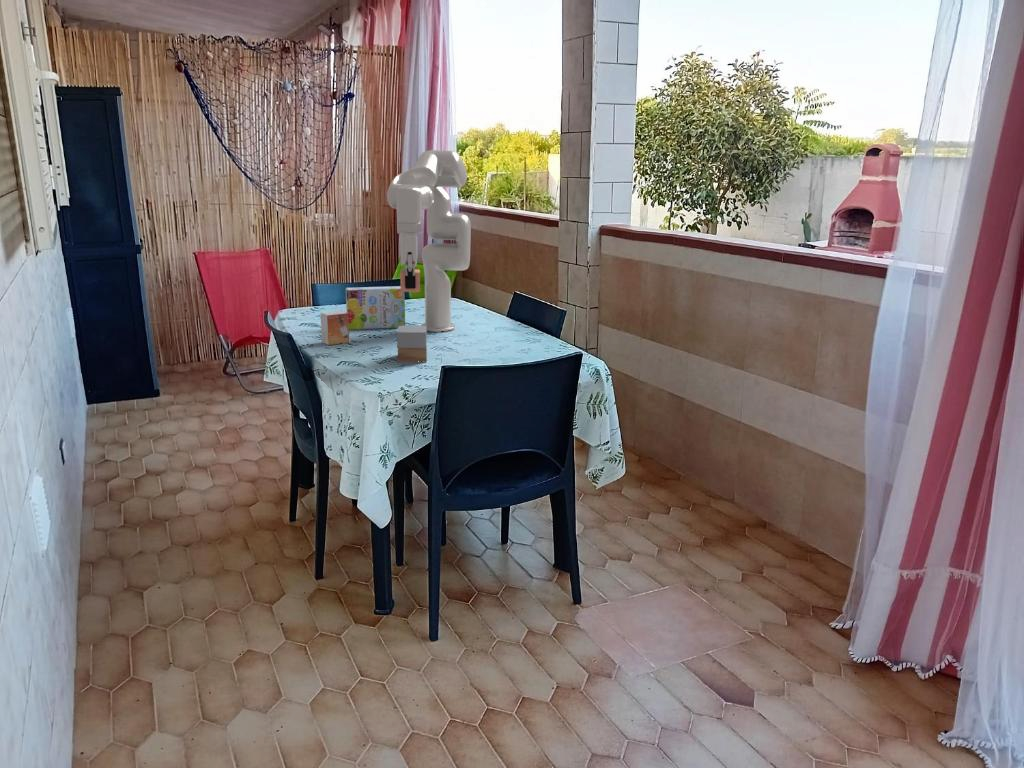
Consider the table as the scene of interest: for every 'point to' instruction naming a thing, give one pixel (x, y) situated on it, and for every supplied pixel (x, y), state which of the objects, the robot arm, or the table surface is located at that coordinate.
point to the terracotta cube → (402, 281)
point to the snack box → (375, 307)
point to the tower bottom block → (412, 354)
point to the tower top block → (411, 337)
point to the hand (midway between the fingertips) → (410, 285)
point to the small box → (335, 327)
